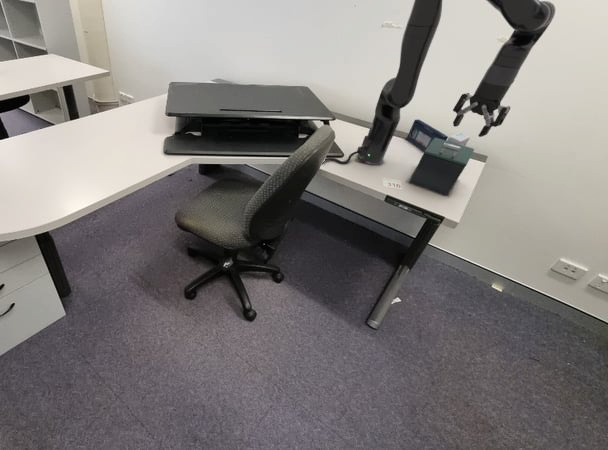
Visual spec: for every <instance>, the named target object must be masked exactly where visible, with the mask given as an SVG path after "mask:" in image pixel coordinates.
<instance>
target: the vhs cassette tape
mask: <svg viewBox="0 0 608 450" xmlns="http://www.w3.org/2000/svg"><path fill="white" fill-rule="evenodd" d="M434 138H438V139H442V140H445V141H447V140H448V138H449V136H448V135H446V134H444V133H443V132H441V131H439V130H438V129H436V128H434V127H432V126H431V125H429V124H427V123H426V122H424V121H422V120H420V119H414V121H413V122H412V125H411V127H410V129H409V132H408V134H407V136H406V140H407V142H409V143H411V144H412V145H413V146H414V147H416V148H417V149H419V150H421V151H422V152H423V153H424V152H425V150H426V149H427V147H428V146H429V145H430V144H431V142H432V141H433V140H434Z"/></svg>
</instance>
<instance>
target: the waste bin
mask: <svg viewBox="0 0 608 450" xmlns="http://www.w3.org/2000/svg"><path fill="white" fill-rule="evenodd" d="M465 168H466V166H464V165H461V164H457V163H454V162H451V161H448V160H445V159H442V158H438V157H435V156H432V155H429V154H426V153H424V152H423V154H422V156H421V157H420V160H419V161H418V164H417V166H416V167H415V169H414V171H413V173H412V175H411V177H410V179H409V181H408V183H409V184H412V185H415V186H417V187H420V188H423V189H425V190H427V191H431V192H434V193H436V194H440V195H442V196H445V197H447V196H448V195H449V193H450V192H451V190H452V189H453V187H454V185H455V184H456V183H457V181H458V179H459V177H460V176H461V175H462V173H463V171H464V170H465Z"/></svg>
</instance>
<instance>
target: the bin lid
mask: <svg viewBox="0 0 608 450" xmlns="http://www.w3.org/2000/svg"><path fill="white" fill-rule="evenodd" d="M474 151H475V148H473V147H469V146H466V145H465V146H463V145H459V144H456V143H452V142H449V141H447V140H446V141H445V140H442V139H438V138H434V140H433V141H432V142H431V144H430V145H429V146H428V147H427V149H426V150H425V152H423V154H424V153H426V154H429V155H432V156H435V157H438V158H442V159H445V160H448V161H451V162H454V163H457V164H461V165H464V166H465V167H467V165H468V164H469V161H470V159H471V157H472V155H473V153H474Z"/></svg>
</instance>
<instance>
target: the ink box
mask: <svg viewBox="0 0 608 450" xmlns="http://www.w3.org/2000/svg"><path fill="white" fill-rule="evenodd" d="M470 138H471V136H469V135H466V134H464V133H462V132H460V131H459V132H456V133H454V134H452V135H449V136H448V138H447V140H446V141H449V142H452V143H456V144H459V145H463V146H466V145H467V144H468V142H469V140H470Z"/></svg>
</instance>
